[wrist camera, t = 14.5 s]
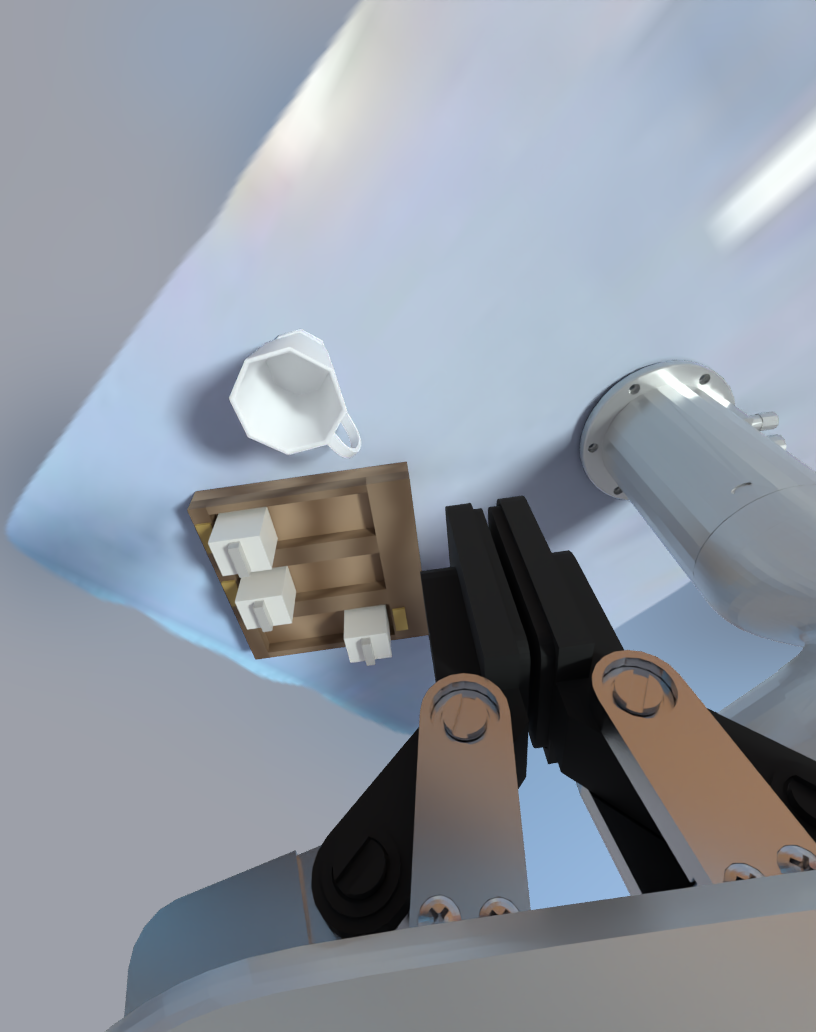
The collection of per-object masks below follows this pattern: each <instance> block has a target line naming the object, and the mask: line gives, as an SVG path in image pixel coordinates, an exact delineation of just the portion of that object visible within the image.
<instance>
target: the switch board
mask: <svg viewBox="0 0 816 1032" xmlns="http://www.w3.org/2000/svg"><path fill="white" fill-rule="evenodd" d="M261 507H267V508H268V511H269V514H270V517H271V520H272V523H273V526H274V529H275V532H276V535H277V538H278V539H277V545H276V550H275V555H274V560H273V565H272V568H276V567H283V566H288V569H289V572H290V575H291V578H292V580H293V583H294V586H295V589H296V597H295V604H294V612H293V620H292V623H290V624H283V625H276V626H273V629H272V631H268V632H263V631H262V628H255V629H248V630H247V628H246V626H245V624H244V621H243V619H242V617H241V615H240V612H239V610H238V608H237V606H236V604H235V599H236V595H237V592H238V588H239V584H240V580H241V578H239V575H238V574H234V575H227V576H222V573H221V571H220V569H219V567H218V565H217V562H216V560H215V558H214V556H213V553H212V551H211V549H210V547H209V544H208V541H209V538H210V536H211V533H212V530H213V527H214V525H215V522H216V519H217V516H218V514H219V513H226V512H233V511H240V510H247V509H254V508H261ZM187 511H188V513H189V515H190V518H191V520H192V522H193V524H194V526H195V528H196V531H197V533H198V535H199V537H200V539H201V542H202V544H203V546H204V548H205V550H206V552H207V555H208V557H209V559H210V561H211V563H212V566H213V568H214V570H215V572H216V574H217V577H218V579H219V581H220V583H221V585H222V587H223V590H224V592H225V594H226V596H227V598H228V601H229V603H230V605H231V607H232V609H233V611H234V614H235V616H236V618H237V620H238V622H239V625H240V627H241V629H242V631H243V633H244V635H245V638H246V640H247V642H248V644H249V646H250V649H251V651H252V653H253V655H254V657H255V660H256V659H263V658H270V657H277V656H284V655H291V654H298V653H305V652H312V651H319V650H326V649H334V648H341V647H346V645H345V642H344V610H350V609H357V608H364V607H371V606H378V605H386V610H387V615H388V620H389V625H390V638H391V640H397V639H404V638H411V637H418V636H425V635H429V633H428V627H427V620H426V613H425V606H424V599H423V591H422V584H421V576H420V571H422V570H421V562H420V555H419V547H418V539H417V532H416V524H415V517H414V509H413V501H412V494H411V486H410V479H409V473H408V466H407V462H401V463H394V464H387V465H379V466H372V467H365V468H358V469H351V470H344V471H337V472H330V473H323V474H316V475H309V476H302V477H295V478H288V479H281V480H274V481H267V482H259V483H252V484H245V485H238V486H231V487H224V488H217V489H210V490H203V491H196V492H195V494H194V496H193V498H192V500H191V503H190V505H189V507H188V509H187Z"/></svg>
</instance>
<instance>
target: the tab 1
mask: <svg viewBox="0 0 816 1032" xmlns="http://www.w3.org/2000/svg"><path fill="white" fill-rule="evenodd" d="M277 539H278V538H277V535H276V532H275V529H274V526H273V523H272V520H271V517H270V514H269V511H268V508H267V507H261V508H254V509H247V510H240V511H233V512H226V513H219V514H218V516H217V519H216V522H215V525H214V527H213V530H212V533H211V536H210V538H209V541H208V544H209V547H210V549H211V551H212V553H213V556H214V558H215V560H216V562H217V565H218V567H219V569H220V571H221V573H222V576H227V575H234V574H238V575H239V578H242V577H249V576H250V573H251V572H255V571H263V570H270V569H272V565H273V560H274V555H275V550H276V545H277Z"/></svg>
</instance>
